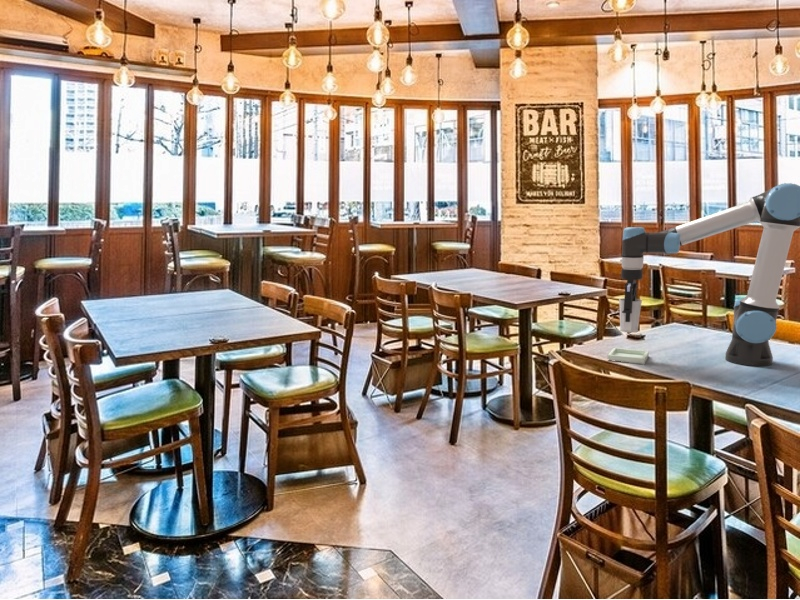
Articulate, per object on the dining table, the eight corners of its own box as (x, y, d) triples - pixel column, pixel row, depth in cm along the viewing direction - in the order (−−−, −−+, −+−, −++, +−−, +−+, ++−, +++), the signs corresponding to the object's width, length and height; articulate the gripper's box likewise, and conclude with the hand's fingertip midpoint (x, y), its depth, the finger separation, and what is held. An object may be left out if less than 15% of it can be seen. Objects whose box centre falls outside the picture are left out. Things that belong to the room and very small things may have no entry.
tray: (648, 356, 224) (648, 350, 224) (644, 364, 213) (644, 358, 213) (613, 352, 230) (613, 347, 230) (607, 360, 219) (607, 354, 219)
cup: (642, 333, 215) (643, 301, 214) (619, 332, 217) (621, 301, 215) (637, 328, 223) (639, 298, 221) (616, 328, 225) (617, 298, 223)
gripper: (625, 265, 227) (623, 322, 230) (616, 270, 209) (614, 332, 213) (646, 266, 223) (643, 324, 227) (638, 271, 206) (635, 334, 209)
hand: (629, 328), depth 220 cm, fingers closed on cup, 7 cm apart
